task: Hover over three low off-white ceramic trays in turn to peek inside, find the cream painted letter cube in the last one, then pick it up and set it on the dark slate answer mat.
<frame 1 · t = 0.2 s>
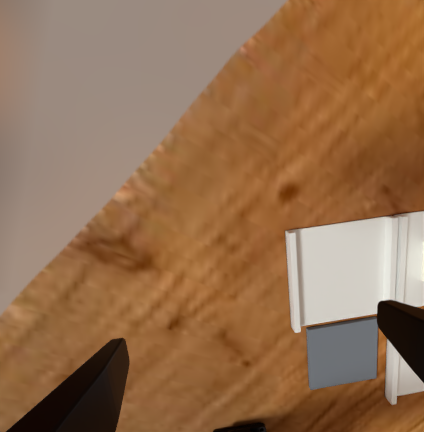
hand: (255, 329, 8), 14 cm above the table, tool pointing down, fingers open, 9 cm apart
answer mat: (341, 352, 26), on the table
tray a: (338, 273, 24), on the table
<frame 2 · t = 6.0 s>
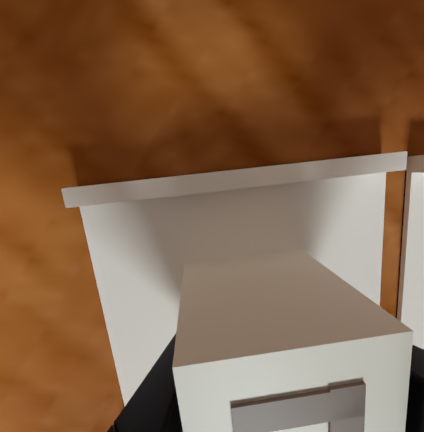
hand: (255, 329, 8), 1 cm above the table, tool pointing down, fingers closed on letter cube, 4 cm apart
letter cube: (248, 310, 9), resting on tray b, touching gripper
tray b: (247, 307, 9), on the table
when the fingers open (3 cm above the table, at t = 9.4 s): letter cube drops 1 cm, resting on answer mat.
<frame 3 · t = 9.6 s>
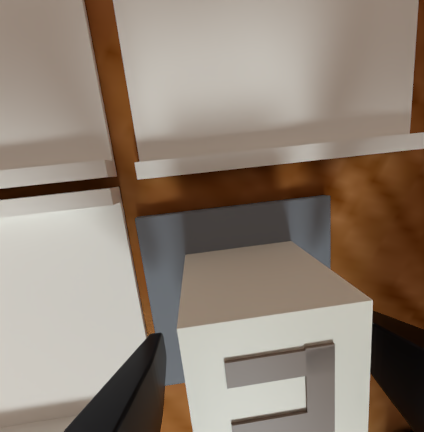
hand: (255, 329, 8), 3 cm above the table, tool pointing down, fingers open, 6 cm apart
answer mat: (240, 291, 10), on the table
letter cube: (243, 296, 10), resting on answer mat
tray c: (270, 9, 8), on the table
tray a: (14, 326, 10), on the table
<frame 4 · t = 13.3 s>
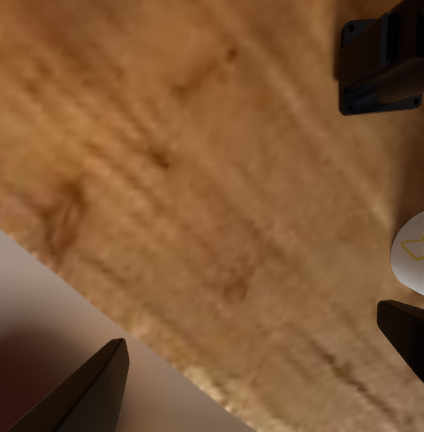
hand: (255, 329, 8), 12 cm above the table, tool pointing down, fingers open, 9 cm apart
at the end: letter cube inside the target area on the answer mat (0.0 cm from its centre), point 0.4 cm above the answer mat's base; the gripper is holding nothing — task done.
